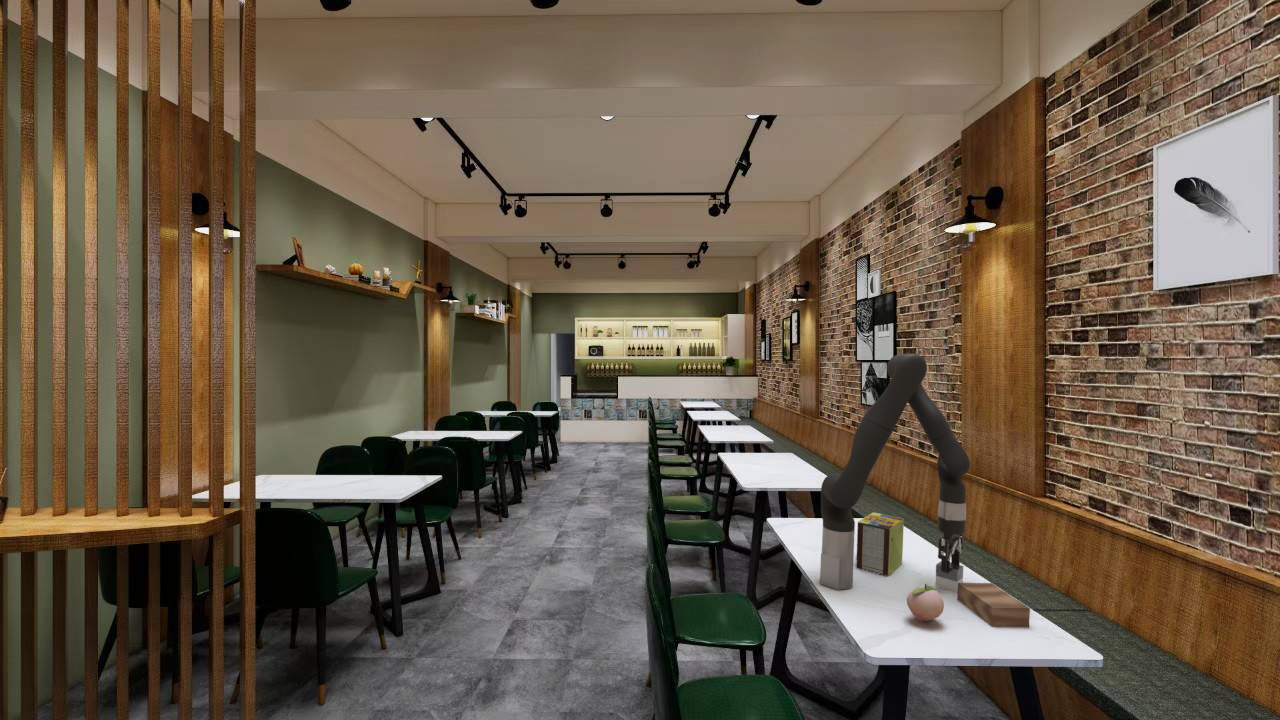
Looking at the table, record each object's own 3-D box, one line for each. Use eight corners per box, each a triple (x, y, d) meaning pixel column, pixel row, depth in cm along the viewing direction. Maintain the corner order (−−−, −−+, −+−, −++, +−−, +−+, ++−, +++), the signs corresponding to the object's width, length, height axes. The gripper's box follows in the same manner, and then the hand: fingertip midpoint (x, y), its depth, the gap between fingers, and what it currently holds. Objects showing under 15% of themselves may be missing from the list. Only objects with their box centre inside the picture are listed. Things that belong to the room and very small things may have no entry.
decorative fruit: (931, 633, 149) (933, 594, 149) (901, 620, 156) (902, 583, 155) (949, 623, 155) (951, 586, 154) (919, 611, 161) (921, 575, 161)
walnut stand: (1029, 626, 154) (1029, 608, 154) (991, 626, 153) (992, 607, 153) (991, 600, 170) (991, 583, 170) (957, 599, 169) (957, 582, 169)
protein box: (902, 563, 197) (904, 518, 197) (888, 576, 185) (890, 528, 185) (870, 555, 204) (872, 511, 203) (855, 568, 192) (856, 521, 192)
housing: (956, 593, 174) (957, 570, 174) (934, 586, 179) (935, 564, 178) (962, 588, 178) (963, 566, 177) (940, 582, 182) (941, 560, 182)
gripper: (947, 508, 185) (945, 559, 186) (930, 517, 175) (928, 571, 176) (973, 514, 180) (971, 566, 180) (957, 523, 170) (955, 578, 170)
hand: (950, 568), depth 178 cm, fingers open, 8 cm apart
